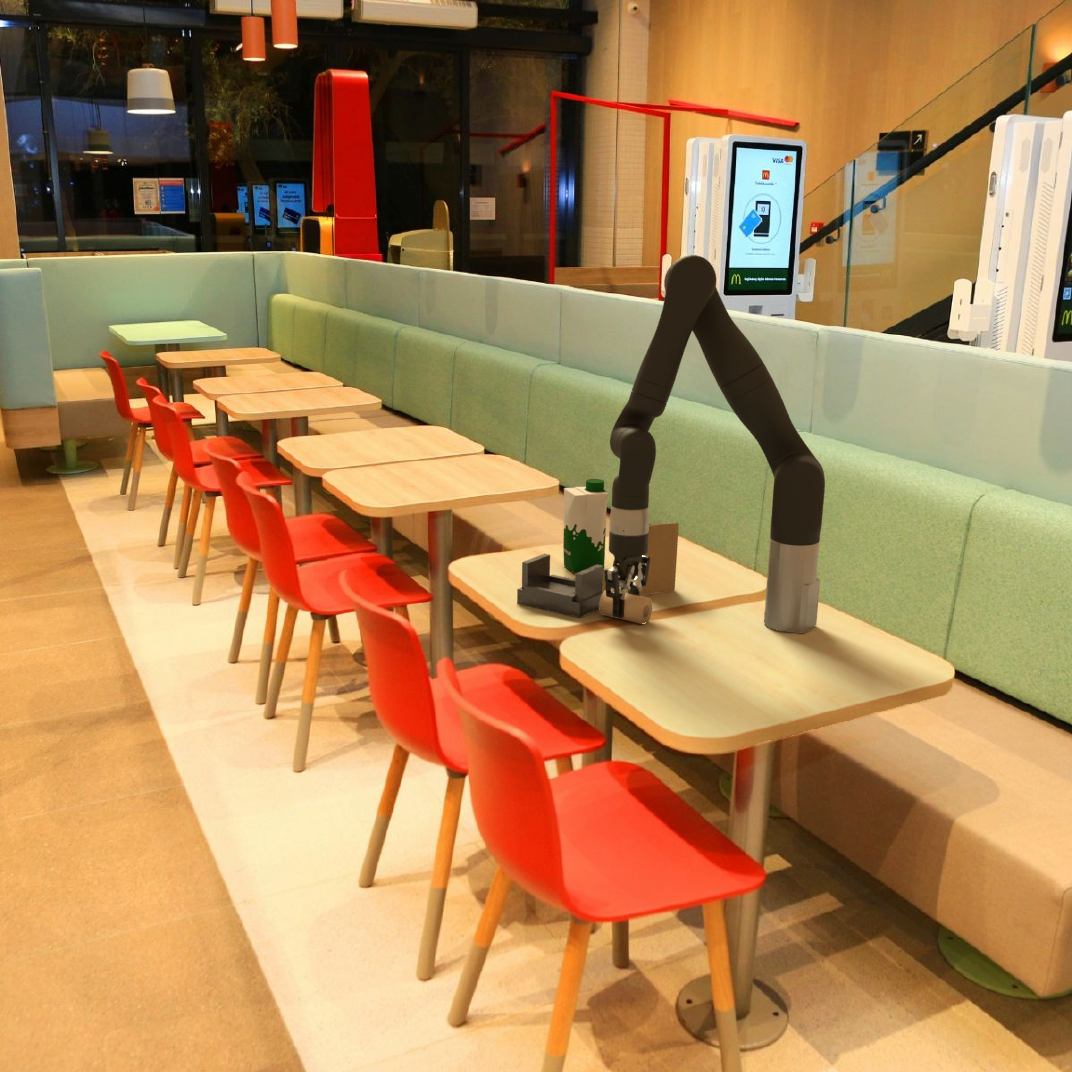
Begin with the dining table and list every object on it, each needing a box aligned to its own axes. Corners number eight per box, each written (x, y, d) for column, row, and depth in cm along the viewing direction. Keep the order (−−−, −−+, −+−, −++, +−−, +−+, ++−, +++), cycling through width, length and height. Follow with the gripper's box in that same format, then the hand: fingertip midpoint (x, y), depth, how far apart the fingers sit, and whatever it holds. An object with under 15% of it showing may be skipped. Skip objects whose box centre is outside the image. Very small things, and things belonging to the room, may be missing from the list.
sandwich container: (642, 571, 256) (645, 506, 252) (676, 591, 242) (679, 522, 238) (607, 575, 252) (610, 509, 248) (640, 595, 239) (643, 526, 235)
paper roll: (651, 622, 223) (654, 596, 222) (638, 626, 219) (641, 600, 218) (611, 612, 228) (613, 587, 227) (597, 617, 224) (599, 591, 223)
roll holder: (606, 605, 232) (607, 564, 229) (579, 618, 224) (580, 576, 221) (544, 591, 240) (545, 552, 238) (517, 603, 232) (517, 562, 230)
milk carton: (609, 572, 254) (612, 484, 248) (570, 575, 251) (573, 486, 246) (595, 561, 262) (598, 476, 256) (558, 564, 259) (560, 478, 254)
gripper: (627, 540, 211) (623, 626, 215) (664, 524, 222) (660, 607, 227) (592, 533, 215) (589, 618, 220) (630, 518, 227) (627, 600, 231)
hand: (625, 612), depth 223 cm, fingers closed on paper roll, 5 cm apart
